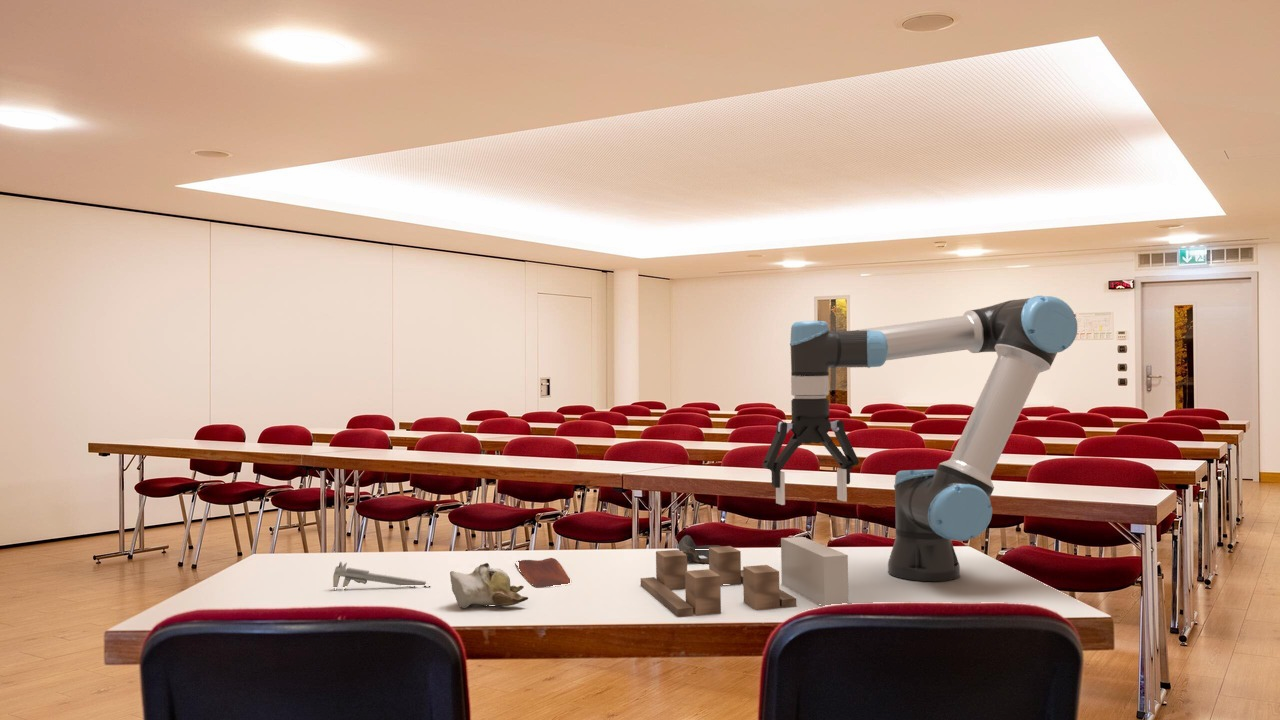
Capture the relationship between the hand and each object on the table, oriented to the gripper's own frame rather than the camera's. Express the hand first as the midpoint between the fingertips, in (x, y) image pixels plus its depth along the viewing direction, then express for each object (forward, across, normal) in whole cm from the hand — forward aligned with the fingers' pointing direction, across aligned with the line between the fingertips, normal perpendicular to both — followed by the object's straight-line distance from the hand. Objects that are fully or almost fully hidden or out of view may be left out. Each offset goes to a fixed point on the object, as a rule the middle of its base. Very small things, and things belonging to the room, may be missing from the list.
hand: (811, 502), depth 187 cm
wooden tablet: (+20, +49, -37) cm, 64 cm away
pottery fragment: (+19, +9, -41) cm, 46 cm away
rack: (+19, +19, -6) cm, 27 cm away
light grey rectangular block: (+19, 0, 0) cm, 19 cm away
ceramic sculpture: (+19, +64, -12) cm, 68 cm away
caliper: (+19, +84, -34) cm, 92 cm away
